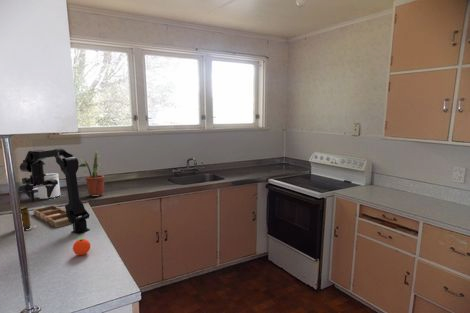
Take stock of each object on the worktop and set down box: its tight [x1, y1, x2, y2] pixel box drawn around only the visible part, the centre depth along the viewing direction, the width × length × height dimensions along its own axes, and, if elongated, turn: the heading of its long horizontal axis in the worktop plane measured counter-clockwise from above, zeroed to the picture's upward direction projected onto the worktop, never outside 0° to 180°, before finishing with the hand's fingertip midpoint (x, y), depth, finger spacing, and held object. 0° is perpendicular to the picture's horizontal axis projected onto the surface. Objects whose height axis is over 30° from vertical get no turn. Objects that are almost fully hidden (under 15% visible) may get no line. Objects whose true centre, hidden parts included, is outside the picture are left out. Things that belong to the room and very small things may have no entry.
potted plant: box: [79, 150, 105, 196], centre depth 222 cm, size 17×16×35 cm
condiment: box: [19, 206, 37, 232], centre depth 161 cm, size 7×8×12 cm
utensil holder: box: [37, 172, 61, 198], centre depth 223 cm, size 15×15×18 cm
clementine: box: [72, 237, 91, 256], centre depth 129 cm, size 8×7×7 cm
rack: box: [32, 204, 79, 229], centre depth 178 cm, size 37×12×3 cm, turn 50°
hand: (40, 200), depth 164 cm, fingers open, 9 cm apart
